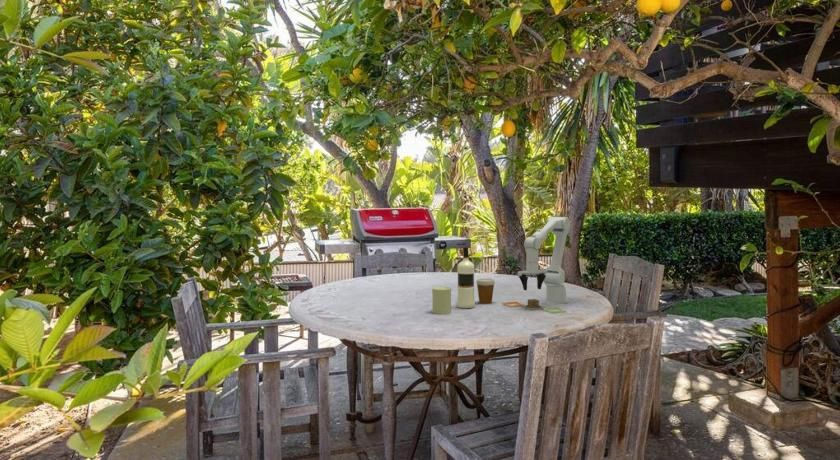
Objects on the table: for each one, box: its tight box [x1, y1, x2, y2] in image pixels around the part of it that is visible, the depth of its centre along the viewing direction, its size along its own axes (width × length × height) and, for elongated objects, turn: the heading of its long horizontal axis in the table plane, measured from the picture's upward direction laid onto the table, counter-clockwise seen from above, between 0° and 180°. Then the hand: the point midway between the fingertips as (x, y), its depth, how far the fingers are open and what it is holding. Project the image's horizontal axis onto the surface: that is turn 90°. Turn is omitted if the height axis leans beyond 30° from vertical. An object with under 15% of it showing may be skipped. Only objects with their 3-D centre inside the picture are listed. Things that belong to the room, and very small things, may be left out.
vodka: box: [456, 246, 476, 310], centre depth 288 cm, size 9×9×30 cm
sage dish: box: [542, 306, 567, 315], centre depth 277 cm, size 8×8×1 cm
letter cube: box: [527, 298, 540, 308], centre depth 284 cm, size 4×4×4 cm
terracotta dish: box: [501, 301, 525, 308], centre depth 291 cm, size 8×8×1 cm
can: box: [431, 286, 452, 315], centre depth 278 cm, size 9×9×12 cm
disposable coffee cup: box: [475, 278, 496, 305], centre depth 298 cm, size 10×10×12 cm
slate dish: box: [521, 304, 546, 311], centre depth 284 cm, size 8×8×1 cm
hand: (532, 289), depth 283 cm, fingers open, 7 cm apart
